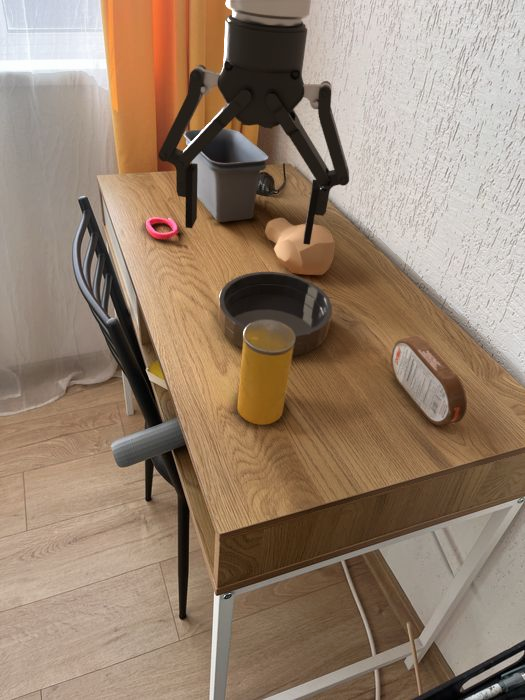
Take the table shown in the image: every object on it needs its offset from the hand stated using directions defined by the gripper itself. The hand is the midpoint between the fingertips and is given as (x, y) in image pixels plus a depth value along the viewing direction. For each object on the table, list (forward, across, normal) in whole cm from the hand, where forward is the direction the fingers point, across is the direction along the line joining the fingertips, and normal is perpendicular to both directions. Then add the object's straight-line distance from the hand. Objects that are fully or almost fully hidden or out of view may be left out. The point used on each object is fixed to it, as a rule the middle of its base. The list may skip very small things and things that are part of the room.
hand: (248, 231), depth 61 cm
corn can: (+25, -4, +4) cm, 25 cm away
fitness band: (+25, +22, -43) cm, 54 cm away
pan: (+25, -4, -16) cm, 30 cm away
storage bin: (+24, +11, -59) cm, 65 cm away
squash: (+25, -6, -39) cm, 47 cm away
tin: (+25, -27, -3) cm, 37 cm away
